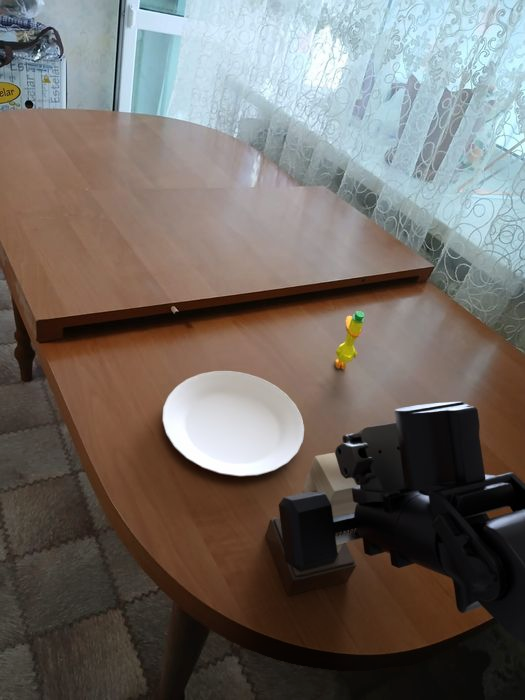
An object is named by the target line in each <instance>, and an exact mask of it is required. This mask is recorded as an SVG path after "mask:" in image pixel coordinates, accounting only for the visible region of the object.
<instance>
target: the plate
mask: <svg viewBox="0 0 525 700" xmlns="http://www.w3.org/2000/svg"><path fill="white" fill-rule="evenodd" d="M161 421H162V424H163V427H164V431H165V434H166V436H167V438H168V440H169V441H170V442H171V444H172V445H173V447H174V448H175V449H176V450H177V451H178V452H179V453H180V454H181V455H182V456H183V457H184V458H186V460H189V461H190V462H192V463H193V464H195V465H198V466H199V467H201V468H203V469H206V470H208V471H211V472H214V473H217V474H219V475H220V474H221V475H227V476H233V477H251V476H252V477H253V476H260V475H263V474H267V473H270V472H274V471H276V470H278V469H280V468H282V467H283V466H285V465H287V464H288V463H289V462H290V461H291V460H292V459H293V458H294V457H295V456H296V455H297V454H298V452H299V451H300V448H301V445H302V444H303V442H304V435H305V426H304V422H303V421H304V420H303V415H302V414H301V412H300V410H299V408H298V406H297V404H296V403H295V402H294V401H293V400H292V399H291V397H289V395H288V394H287V393H286V392H284V391H283V390H282V389H280V388H279V387H278V386H277V385H275V384H273V383H271V382H270V381H267V380H265V379H264V378H261V377H259V376H255V375H253V374H252V375H251V374H249V373H247V372H246V373H245V372H239V371H233V370H215V371H209V372H203V373H202V372H201V373H198V374H196V375H194V376H191V377H189V378H186V379H185V380H183V381H182V382H181V383H179V384H178V385H176V387H174V389H173V390H172V391H171V392H170V393H169V394H168V395H167V398H166V400H165V403H164V405H163V407H162V420H161Z"/></svg>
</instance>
